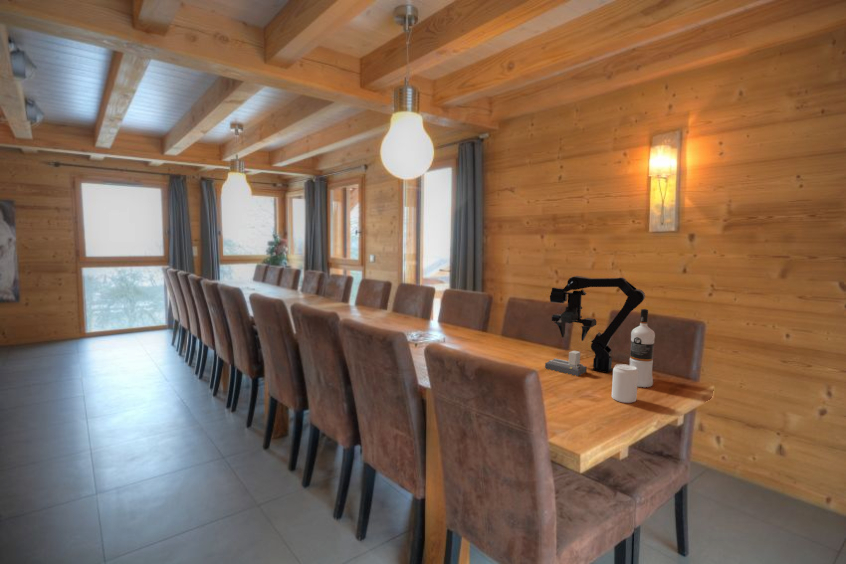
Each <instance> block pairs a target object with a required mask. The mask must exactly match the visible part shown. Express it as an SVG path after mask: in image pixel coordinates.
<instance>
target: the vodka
mask: <svg viewBox="0 0 846 564" xmlns="http://www.w3.org/2000/svg"><path fill="white" fill-rule="evenodd" d="M648 319H649V309H646V308H641V309H640V320H639V321H640V322H639V325H638V326H636V327H635V328H633V329H632V330H631V332H630V354H629V355H630V357H629V365H631V366H634V367H636V368H637V371H638V383H637V388H642V387H643V388H646V387H647V388H650V387H652V386H653V385H654V379H653V365H654V364H653V363H654V348H655V347H654V344H655V339H656V333H655V331H654V330H653V329H652V328H650V327H649V326H648Z"/></svg>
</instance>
